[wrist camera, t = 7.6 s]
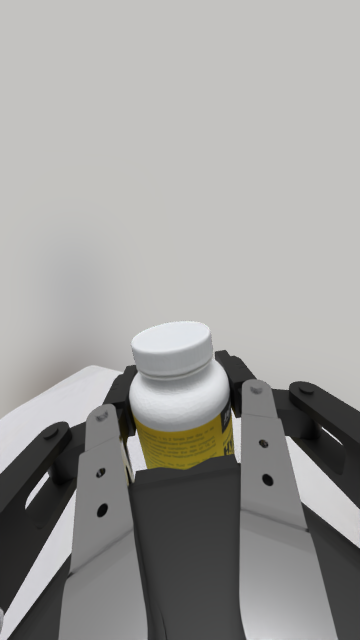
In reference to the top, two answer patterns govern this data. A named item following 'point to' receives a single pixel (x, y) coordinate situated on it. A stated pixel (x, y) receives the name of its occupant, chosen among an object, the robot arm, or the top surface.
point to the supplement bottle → (180, 396)
